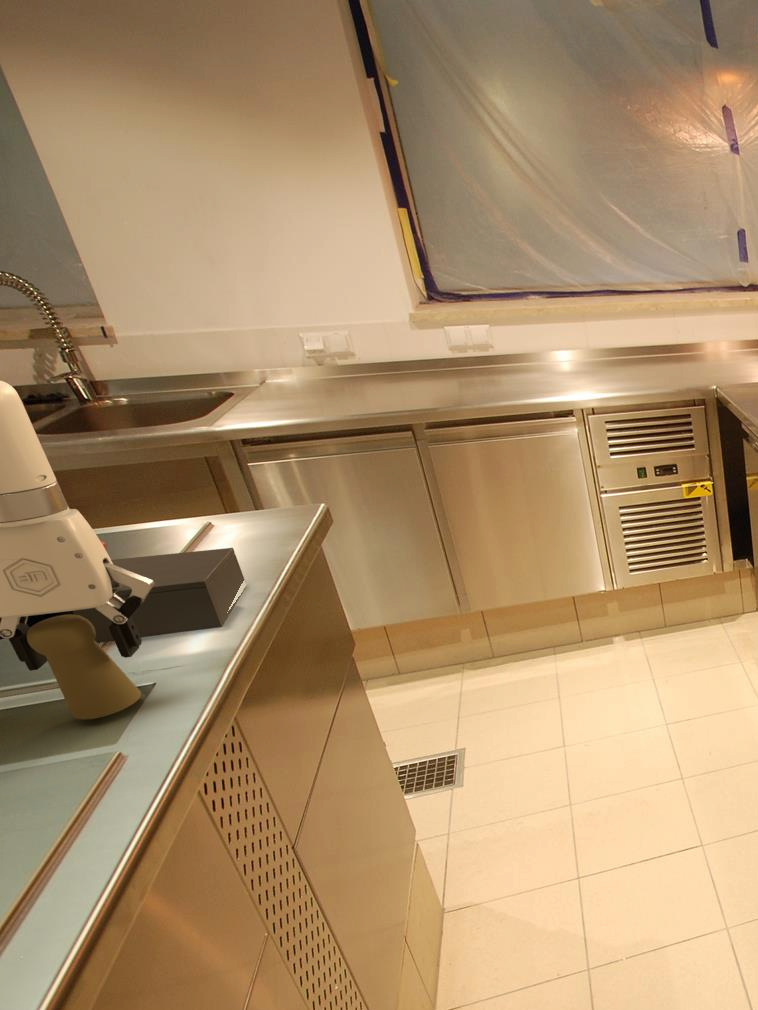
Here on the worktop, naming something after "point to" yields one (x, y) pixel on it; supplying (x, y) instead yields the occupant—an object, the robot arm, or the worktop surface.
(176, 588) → the box lid
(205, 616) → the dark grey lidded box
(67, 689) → the cork
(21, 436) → the robot arm
